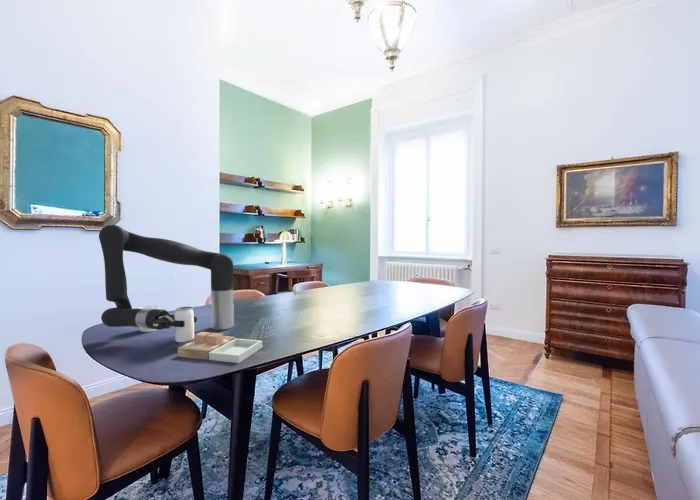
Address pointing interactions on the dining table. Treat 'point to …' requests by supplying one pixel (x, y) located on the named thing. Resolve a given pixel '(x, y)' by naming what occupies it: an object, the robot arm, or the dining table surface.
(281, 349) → the dining table surface
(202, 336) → the tile
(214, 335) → the tile
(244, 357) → the tray
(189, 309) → the can
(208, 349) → the board
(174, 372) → the dining table surface
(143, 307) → the white cup
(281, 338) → the dining table surface
